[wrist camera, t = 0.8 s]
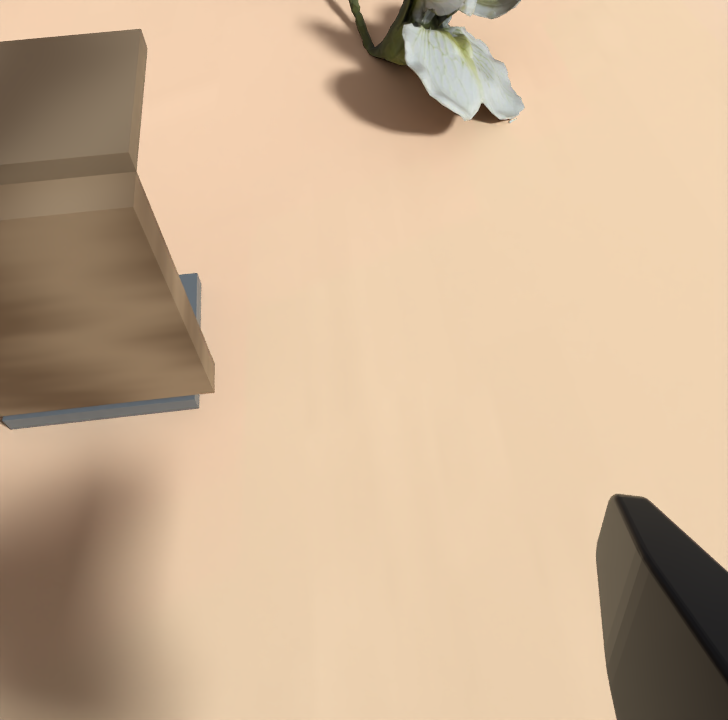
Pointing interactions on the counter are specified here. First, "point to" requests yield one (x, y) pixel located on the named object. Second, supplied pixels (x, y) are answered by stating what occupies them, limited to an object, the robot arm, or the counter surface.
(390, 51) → the artificial flower
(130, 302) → the brown wooden block
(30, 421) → the label plaque
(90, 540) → the counter surface
